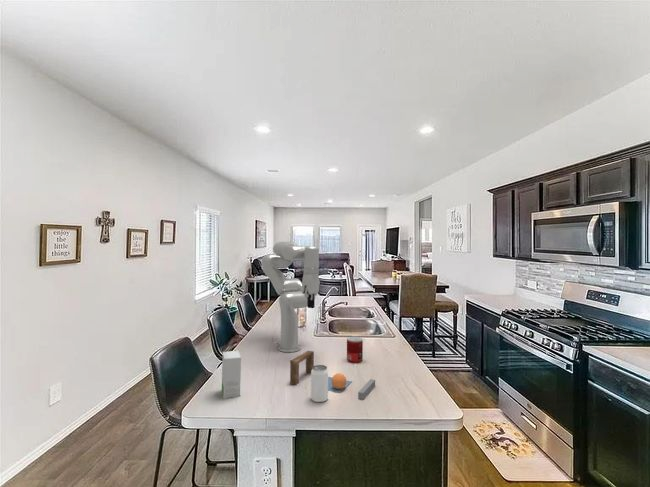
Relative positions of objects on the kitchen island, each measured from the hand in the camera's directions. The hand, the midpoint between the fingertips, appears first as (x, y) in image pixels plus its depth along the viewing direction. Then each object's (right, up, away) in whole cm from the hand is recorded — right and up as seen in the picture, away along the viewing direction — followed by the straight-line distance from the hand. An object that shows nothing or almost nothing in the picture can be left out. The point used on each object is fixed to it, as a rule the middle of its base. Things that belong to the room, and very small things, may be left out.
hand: (310, 307), depth 171 cm
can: (+5, -27, -41) cm, 50 cm away
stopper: (+24, -27, -35) cm, 50 cm away
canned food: (+22, -27, +1) cm, 35 cm away
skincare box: (-30, -27, -37) cm, 54 cm away
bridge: (-3, -27, -21) cm, 34 cm away
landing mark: (+11, -27, -28) cm, 40 cm away
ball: (+13, -24, -32) cm, 42 cm away
